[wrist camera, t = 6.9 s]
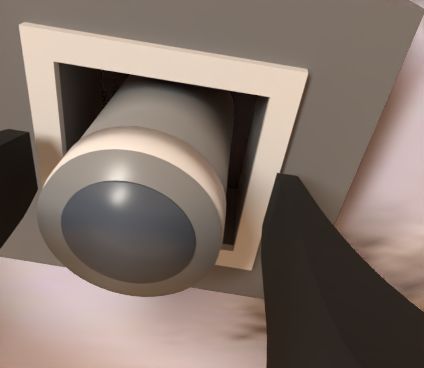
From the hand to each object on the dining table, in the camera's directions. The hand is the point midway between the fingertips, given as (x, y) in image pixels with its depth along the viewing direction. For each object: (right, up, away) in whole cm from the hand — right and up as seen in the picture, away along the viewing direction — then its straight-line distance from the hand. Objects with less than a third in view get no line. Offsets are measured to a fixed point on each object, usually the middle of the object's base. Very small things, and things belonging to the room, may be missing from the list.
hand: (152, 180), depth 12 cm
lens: (0, +3, +3) cm, 4 cm away
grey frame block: (0, +2, +4) cm, 4 cm away
